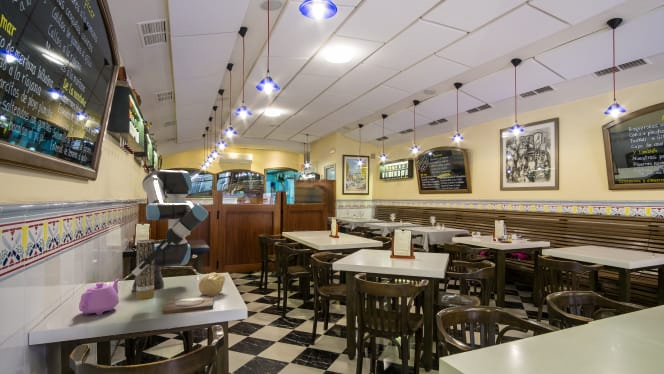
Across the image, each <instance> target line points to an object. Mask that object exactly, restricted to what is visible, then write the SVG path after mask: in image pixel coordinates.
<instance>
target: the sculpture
mask: <svg viewBox="0 0 664 374" xmlns="http://www.w3.org/2000/svg"><path fill="white" fill-rule="evenodd" d="M225 280H226V277H225V275H223V274H221V273H218V272H211V273H207V274H205V275H204V276H202V277H201V278H200V281H199V283H198V289H199V292H200V294H201V295H204V296H217V295H219V294H221V292H222V291H223V287H224V284H225V282H226V281H225Z"/></svg>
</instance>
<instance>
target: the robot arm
mask: <svg viewBox="0 0 664 374" xmlns="http://www.w3.org/2000/svg"><path fill="white" fill-rule="evenodd" d="M192 183H193V182H192V177H191V175H190V173H189V171H186V170H175V169H174V170H172V169H171V170H168V169H167V170H166V169H158V170H153V171H150V172H149V173H148V174H147V175H145V177H144V178H143V180H142V185H141V186H142V188H143V191H144V192H145V193H146V196H147V201H148V204H146V205H145V218H146V220H147V221H148V220H149V221H165V220H166V221H167V220H168V225H167V227H168V230H167V231H166V232H164V236H165V237H166V239H163V240H162V241H161V242H160V243H155V246H154V252H153V253H152V254H151V255H150V256H149V257H148V258H146V259H143V262H142V263H141V264H140V265H139V266H137V265H136V266H137V267H135V268H134V270H132V271H131V274H133V275H134V276H135V277H134V280H133V284H132V291H133V292H136V276H138V275H139V274H140V273H141V272H142V271H143V270H144V269H145V268H146V267H147V266H148V265H149V264H150V263H151V262H152V261H153V260H154V291H157V290H161V289H163V288H164V287H165V282H164V279H163V276H162V272H161V270H162V269H161V268H169V267H177V266H178V267H180V266H185V265H187V264H188V263H189V260H190V258H191V250H192V248H191V245H190V244H189V243H188V241H187V239H186V237H187V236H191V232H192V231H194V230H195V229H196V228H197V227H199V225H200V224H201V223H203V221H205V219H206V218H207V217H208V216H209V212H208V211H207V210H206V209H205V208H204V207H203V206H202V205H201V204H199V203H195V202H193V201H192V200H191V201H190V200H186V197H187V196H188V195H189V192H191V191H192V187H193V184H192ZM164 192H165V193H164ZM165 195H166V196H167V197H168V201H167V199H166V196H165ZM135 258H136V259H137V255H136V256H135ZM149 260H150V261H149Z"/></svg>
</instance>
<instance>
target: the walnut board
mask: <svg viewBox="0 0 664 374" xmlns="http://www.w3.org/2000/svg"><path fill="white" fill-rule="evenodd" d="M214 296H215V295H214ZM214 296H209V295H204V296H196V297H185V298H176V299H175V298H174V299H167V301H166V302H165V304H164V306H163V308H162V312H161V313H162V315H165V314H174V313H176V314H177V313H184V312H193V311H194V312H195V311H202V310H212V309H214V300H215V299H214Z"/></svg>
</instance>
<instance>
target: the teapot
mask: <svg viewBox="0 0 664 374" xmlns="http://www.w3.org/2000/svg"><path fill="white" fill-rule="evenodd" d="M119 281H120V277H118V278H116V279H115V280H114V281H113V284H112V285H110V284H105V282H97V283H95V286H91V287H88V288H87V289H86V290H85V292H83V293H82V294H81V296H80V301H79V303H78V304H79V305H78V309H79V311H80V312H82V313H84V315H90V314H95V315H96V316H101V315H103V314H104V313H103V312H107V311H113V310H114V309H115V308H116V307H117V305H118V304H119V302H120V299H119V286H118V285H119Z"/></svg>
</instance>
